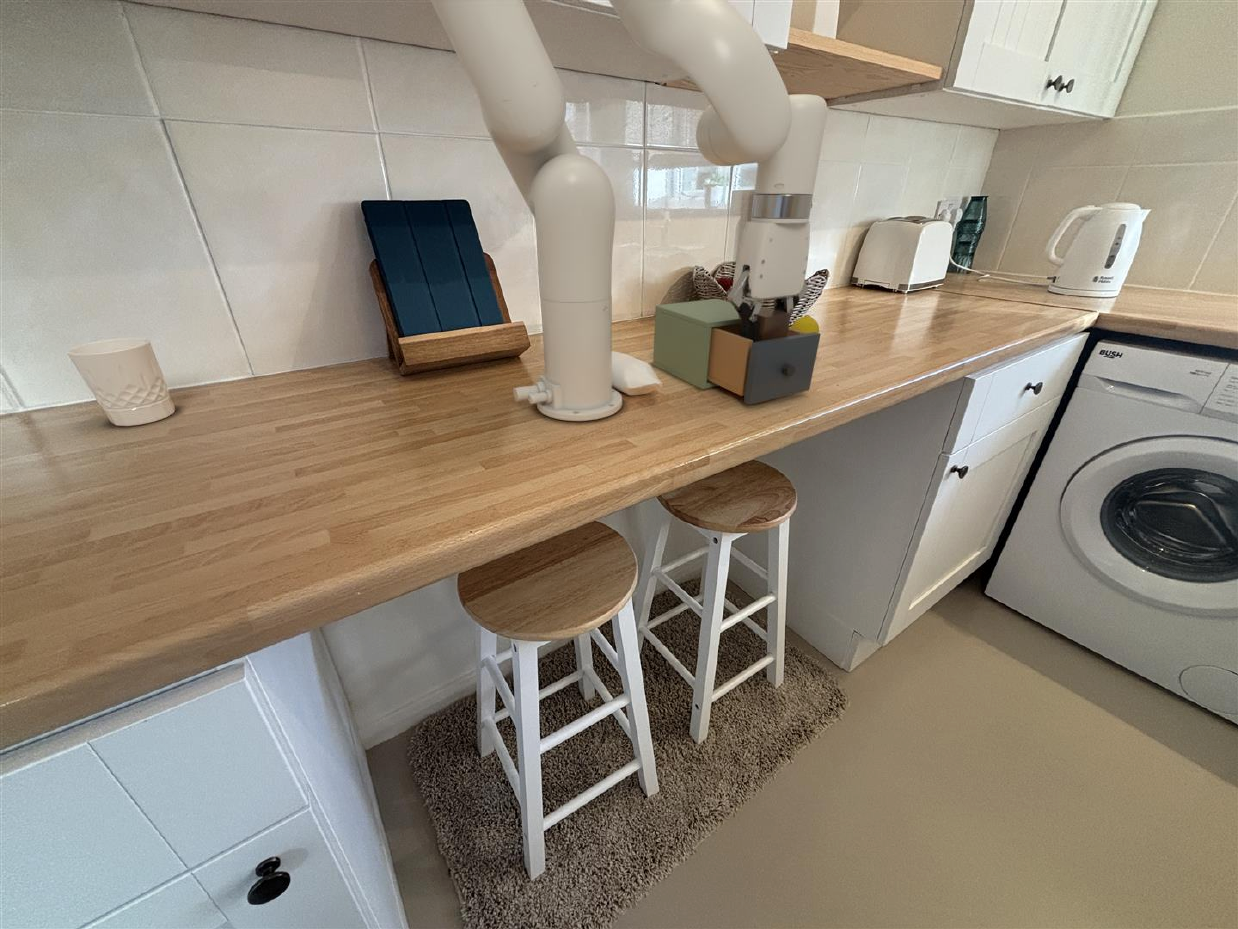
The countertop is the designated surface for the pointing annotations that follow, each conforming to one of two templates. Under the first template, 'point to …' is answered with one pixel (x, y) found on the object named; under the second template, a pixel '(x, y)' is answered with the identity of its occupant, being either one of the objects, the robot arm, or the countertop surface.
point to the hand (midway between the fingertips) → (761, 342)
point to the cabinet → (689, 337)
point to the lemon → (806, 325)
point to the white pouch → (633, 375)
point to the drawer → (761, 363)
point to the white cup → (124, 379)
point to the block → (772, 324)
